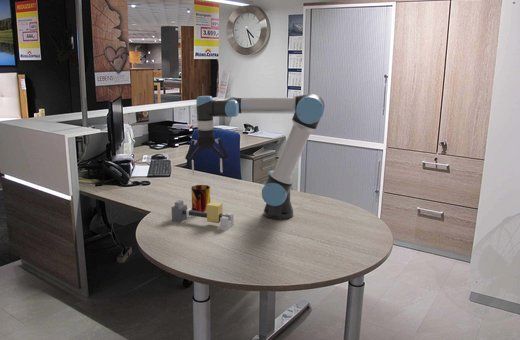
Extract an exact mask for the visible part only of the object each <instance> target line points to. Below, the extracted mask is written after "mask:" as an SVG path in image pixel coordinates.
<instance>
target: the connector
mask: <svg viewBox="0 0 520 340" xmlns="http://www.w3.org/2000/svg"><path fill="white" fill-rule="evenodd" d="M184 209H188V205H187V204H184V200H181V199H178V200H177V201H175V202H174V205H173V206H172V207H171V221H172V222H175V223H176V222H177V223H182V222H185V220H187V219H188V217H187V215H184V214H183V210H184Z"/></svg>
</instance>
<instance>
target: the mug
mask: <svg viewBox="0 0 520 340" xmlns="http://www.w3.org/2000/svg"><path fill="white" fill-rule="evenodd" d="M190 192H191V208H192V210H194V211H201V212H207V204H209V203H210V202H211V186H210V185H208V184H196V185H193V186H191V191H190Z"/></svg>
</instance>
